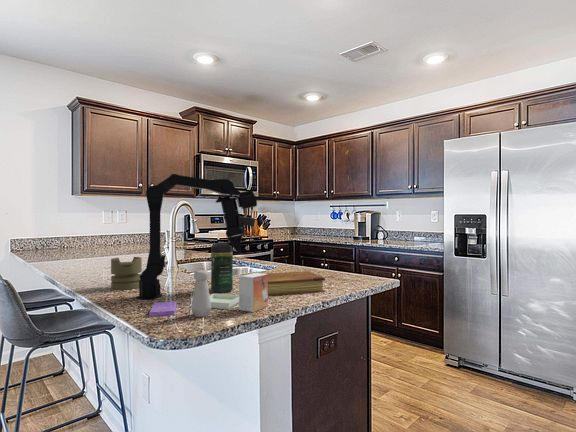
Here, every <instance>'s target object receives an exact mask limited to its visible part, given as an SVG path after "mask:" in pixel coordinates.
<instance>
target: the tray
mask: <svg viewBox="0 0 576 432" xmlns="http://www.w3.org/2000/svg"><path fill="white" fill-rule="evenodd" d="M209 295H210V301H211V309H221V310H230V309H232V308H234V307H235V306H237V305H239V294H229V293H225V294H224V293H211V294H209Z"/></svg>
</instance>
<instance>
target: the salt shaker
mask: <svg viewBox="0 0 576 432" xmlns="http://www.w3.org/2000/svg"><path fill="white" fill-rule="evenodd" d="M209 275H210V273H209V270H206V269H200V270H195V271H194V272H193V278H194V280H195V282H194V288H193V293H192V301H191V305H190V308H191V312H192V314H193V316H194V317H196V318H204V317H208V316H209V314H210V312H211V310H212V308H211V301H210V295H211V294H210V291H209V285H208V280H207V279H209V278H210V276H209Z"/></svg>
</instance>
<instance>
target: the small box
mask: <svg viewBox="0 0 576 432" xmlns="http://www.w3.org/2000/svg"><path fill="white" fill-rule="evenodd" d="M238 295H239V304H238V308H239V311H243V312H251V313H255V312H257V311H260V310H262V309H266V307H267V308H268V307H269V296H268V274H266V273H257V272H253V273H249V274H245V275H239V276H238Z"/></svg>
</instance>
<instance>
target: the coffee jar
mask: <svg viewBox="0 0 576 432" xmlns="http://www.w3.org/2000/svg"><path fill="white" fill-rule="evenodd" d="M233 252H234V251H233V245H232V244H229V243H225V242H215V243H214V244H212V245H211V247H210V257H211V258H210V259H211V260H210V266H211V267H210V272H211V275H210V278H211V280H210V289H211V290H212V292H214V293H220V294H224V293H225V294H226V293H228V292H232V291H233V289H234V287H233V286H234V284H233V283H234V280H233V278H234V277H233V276H234V275H233V271H234V269H233V267H234V265H233V263H234V262H233V260H234V257H233V255H234V254H233Z"/></svg>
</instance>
